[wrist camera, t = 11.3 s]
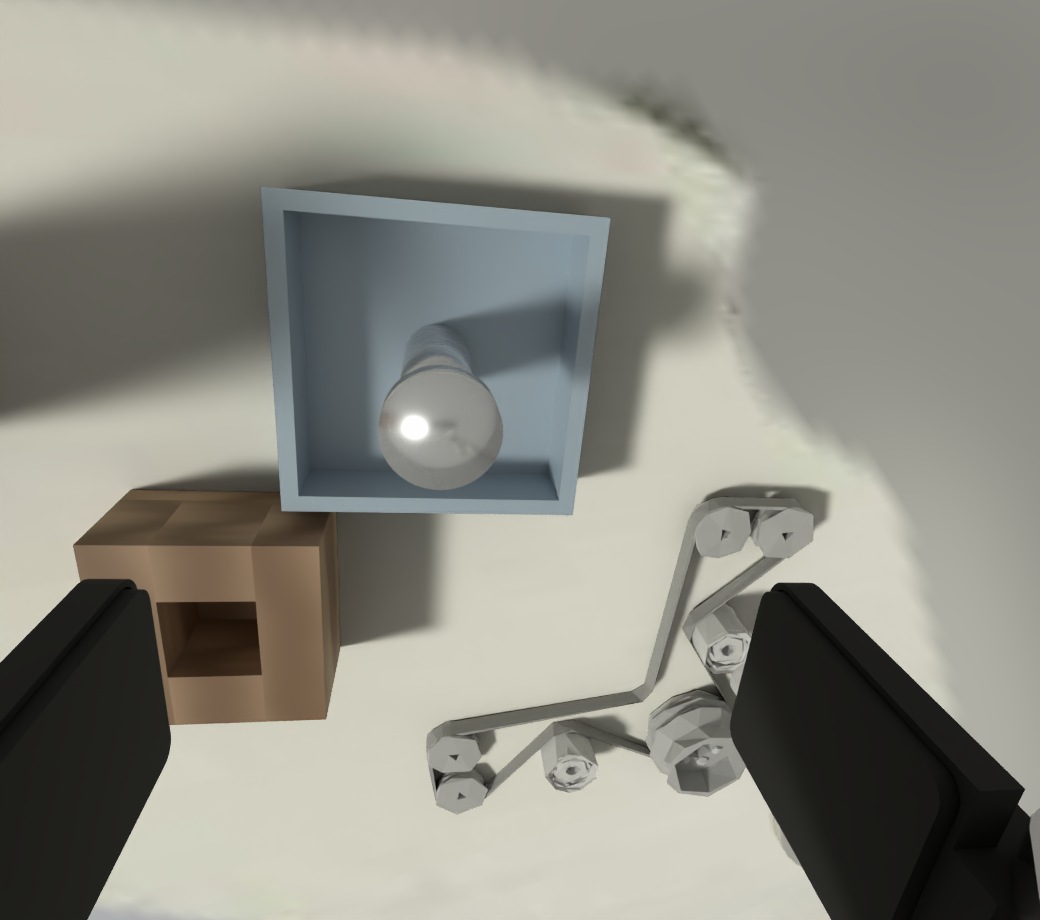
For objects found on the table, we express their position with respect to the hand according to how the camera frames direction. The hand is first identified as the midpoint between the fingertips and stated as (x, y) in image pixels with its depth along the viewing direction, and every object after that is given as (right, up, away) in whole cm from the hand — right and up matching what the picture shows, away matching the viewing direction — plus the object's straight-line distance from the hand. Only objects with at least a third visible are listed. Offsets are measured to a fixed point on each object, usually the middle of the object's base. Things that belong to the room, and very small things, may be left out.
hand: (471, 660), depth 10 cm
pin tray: (-3, +8, +18) cm, 20 cm away
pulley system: (+8, -10, +28) cm, 31 cm away
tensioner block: (-13, -3, +21) cm, 25 cm away
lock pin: (-3, +8, +18) cm, 19 cm away
